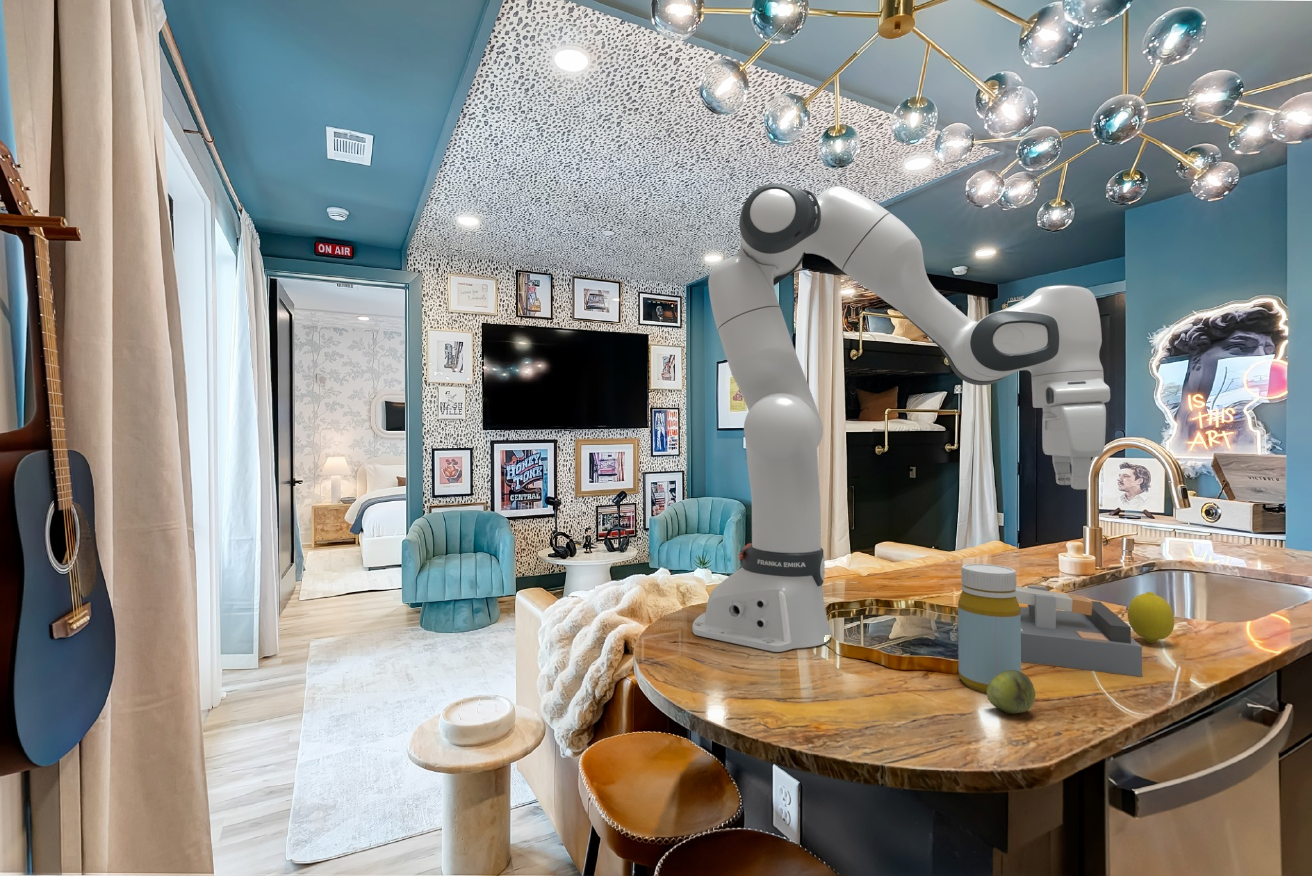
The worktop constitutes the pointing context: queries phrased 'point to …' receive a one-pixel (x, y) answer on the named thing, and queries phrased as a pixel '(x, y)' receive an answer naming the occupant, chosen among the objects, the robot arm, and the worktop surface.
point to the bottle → (988, 624)
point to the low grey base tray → (1078, 638)
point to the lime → (1011, 692)
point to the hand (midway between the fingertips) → (1071, 486)
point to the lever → (1062, 600)
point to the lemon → (1150, 617)
